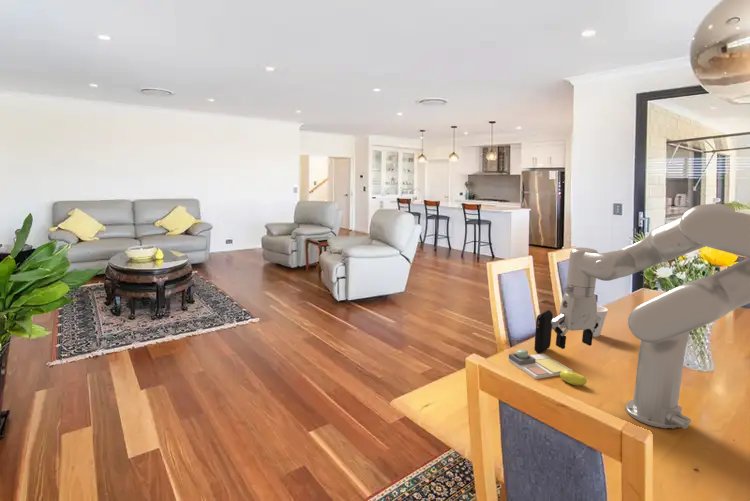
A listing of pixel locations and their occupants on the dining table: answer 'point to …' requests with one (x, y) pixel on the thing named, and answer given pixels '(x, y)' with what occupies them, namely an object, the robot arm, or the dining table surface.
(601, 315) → the cup
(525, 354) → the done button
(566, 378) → the lemon
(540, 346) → the carrying case or bag
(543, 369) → the picture board
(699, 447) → the dining table surface
